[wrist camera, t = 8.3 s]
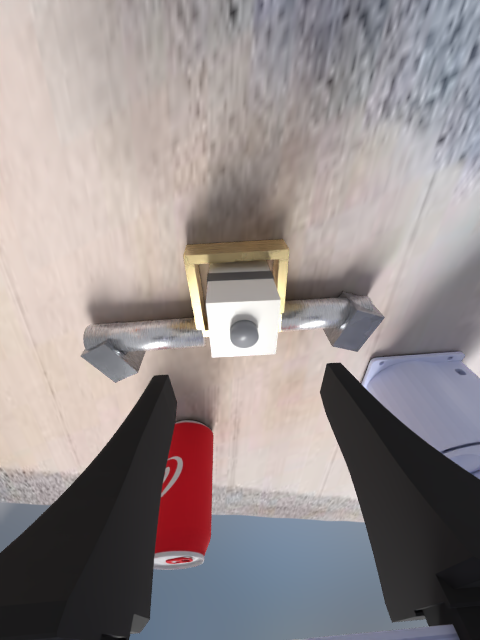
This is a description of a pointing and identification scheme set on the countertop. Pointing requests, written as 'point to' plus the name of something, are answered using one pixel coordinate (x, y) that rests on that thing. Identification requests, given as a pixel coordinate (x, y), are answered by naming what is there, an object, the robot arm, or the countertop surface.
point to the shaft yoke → (137, 337)
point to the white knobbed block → (242, 309)
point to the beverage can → (185, 498)
